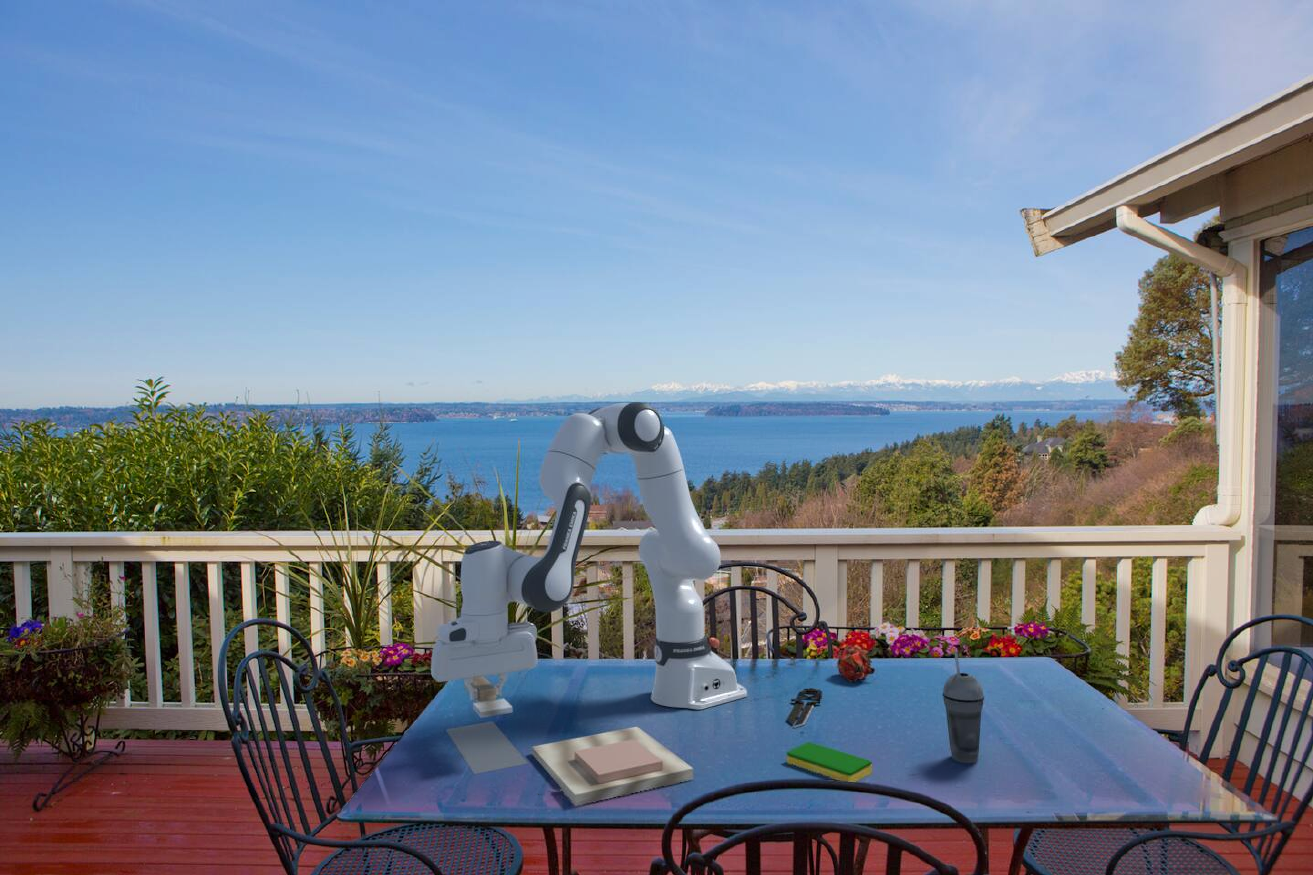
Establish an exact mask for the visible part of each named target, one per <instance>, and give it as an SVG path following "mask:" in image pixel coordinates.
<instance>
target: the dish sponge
mask: <svg viewBox="0 0 1313 875" xmlns="http://www.w3.org/2000/svg"><path fill="white" fill-rule="evenodd" d="M786 763H787V764H788V765H792V764H793V765H792V766H794V765H796V766H795V767H797V766H801V767H803V768H806V769H808V770H807V771H809V770H811V771H810V772H812V771H815V772H817V773H816V774H818V773H821V774H823V775H822V776H824V775H825V776H824V777H827V776H830V777H829V778H830V779H833V780H836V781H838V780H843V781H848V782H854V783H856V782H858V781H859V780H861V779H863V778H865V777H867V776H868V775H869V776H870V775H871V774H872V773H873V769H872V767H873V766H872V761H871V760H869V759H866V758H862V757H860V756H856V755H852V754H850V753H846V752H843V751H840V750H837V749H833V748H829V747H828V746H823V745H820V744H816V743H814V742H810V741H807V742H805V743H803V744H801V745H800V746H797V747H795V748H792V749H791V750H788V751H786ZM803 768H802V769H803ZM806 769H805V770H806ZM815 772H814V773H815ZM821 774H820V775H821Z"/></svg>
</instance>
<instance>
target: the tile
mask: <svg viewBox="0 0 1313 875" xmlns="http://www.w3.org/2000/svg"><path fill="white" fill-rule="evenodd" d="M574 752H575V760H576V761H577V762H578V763H579V764H580V765H581V766H582V767H583V768H584V769H585V770H586V771H587V772H588V773H589V774H590V775H591V776H592V777H593V778H594V779H595V780H596V781H597V782H598V783H599V784H600V783H604V782H609V781H614V780H618V779H623V778H627V777H632V776H636V775H641V774H645V773H650V772H654V771H659V770H663V762H662V760H660V759H659V758H658V757H657V756H655V755H654V754H653V753H651V752H650V751H649V750H648V749H646V748H645V747H644V746H643V745H641V744H640V743H639V742H637V741H636V740H635V739H633V740H628V741H623V742H618V743H613V744H608V745H603V746H598V747H593V748H588V749H583V750H578V751H574Z"/></svg>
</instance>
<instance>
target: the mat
mask: <svg viewBox="0 0 1313 875" xmlns="http://www.w3.org/2000/svg"><path fill="white" fill-rule="evenodd" d="M445 731H446V733H447V735H448V737H449V738H450V739H451V741H452V742H453V744H454V746H455V747H456V749H457V750H458V751H459V753H460V754H461V756H462V758H463V759H464V761H465V762H466V764H467V766H468V768H470V770H471V772H472V773H473V775H478V774H485V773H488V772H493V771H498V770H503V769H504V770H505V769H508V768H513V767H518V766H523V765H528V764H529V763H528V761H527V760H526V759H525V758H524V757H523V755H522V754H521V753H520V752H519V751H518V750H517V748H516V747H515V746H514V745H513V743H512V742H511V741H510V740H509V739H508V738H507V736H506V735H505V734H504V733H503V732H502V730H501V729H500V728H499V727H498V726H497V725H496V723H495V722H494V721H493V720H491V721H485V722H481V723H474V724H468V725H464V726H457V727H451V728H446V729H445Z"/></svg>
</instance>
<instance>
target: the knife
mask: <svg viewBox="0 0 1313 875" xmlns="http://www.w3.org/2000/svg"><path fill="white" fill-rule="evenodd" d="M808 695H810V696H808ZM822 695H823V691H822V690H821V689H816V688H814V687H809V688H807V687H806V688H803V690H800V691H798V693H797V699H796V698H791V700H790V701H791V702H794V706H793V708H792V709H791V711H790V713H789V715H788V716H787V717H786V721H787V722H788V723H790V724H791V725H792V726H793V729H796V728H799V727H801V726H805V724H806V722H807V720H808V719H809V717H810V714H811V713H812V711H813V709H814V707H816V706H819V707H820V706H821V700H822ZM803 697H804V698H805V700H808V701H807V702H806V704H805V702H804V701H803V700H802V699H803ZM809 700H810V701H809Z"/></svg>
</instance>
